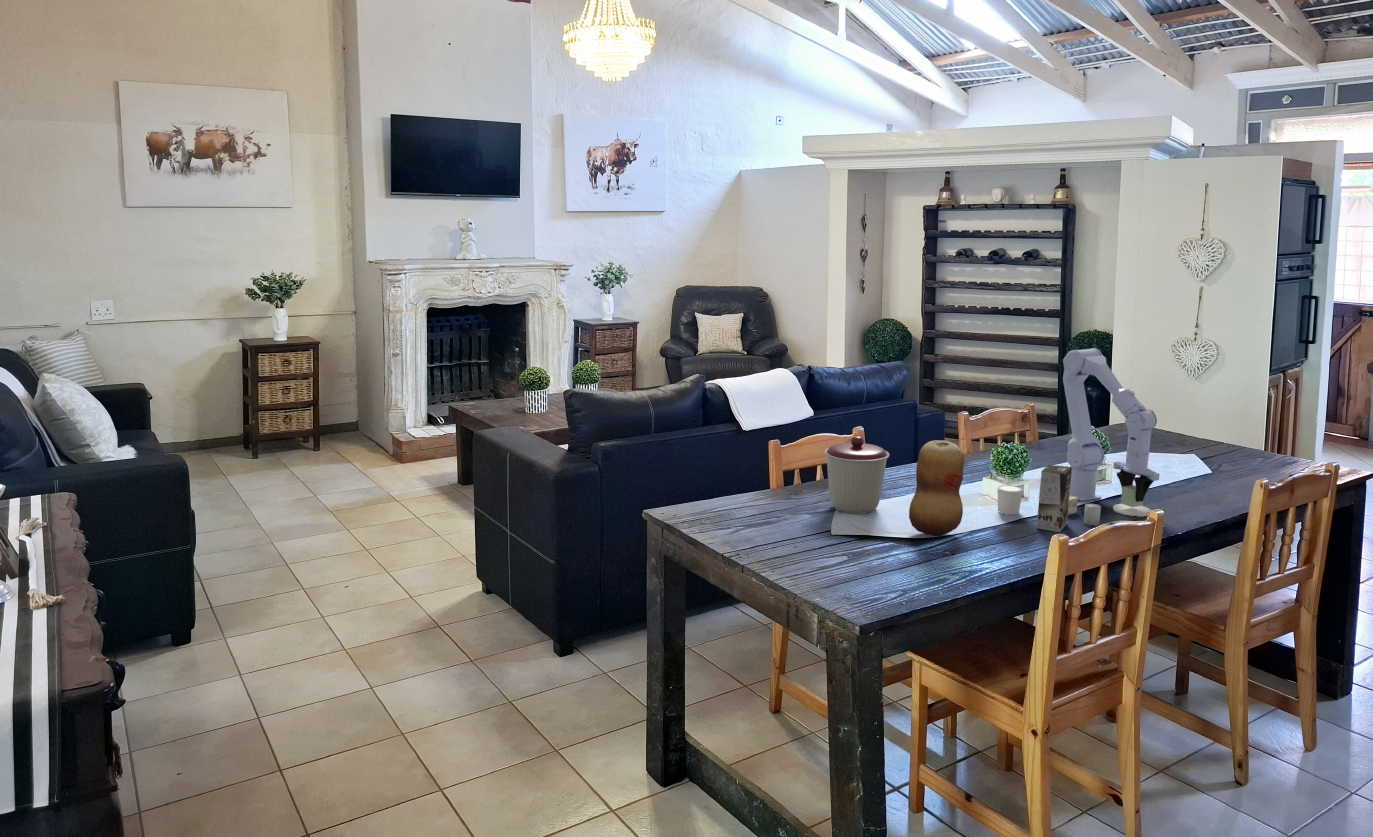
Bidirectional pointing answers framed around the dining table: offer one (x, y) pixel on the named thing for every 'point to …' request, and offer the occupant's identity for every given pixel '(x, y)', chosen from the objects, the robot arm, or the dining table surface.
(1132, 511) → the saucer
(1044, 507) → the coffee box
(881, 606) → the dining table surface
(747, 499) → the dining table surface
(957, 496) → the butternut squash
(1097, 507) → the grey cylinder
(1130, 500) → the sage block
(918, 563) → the dining table surface
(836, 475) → the canister
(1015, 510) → the white cup
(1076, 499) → the birch cube
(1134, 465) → the robot arm
